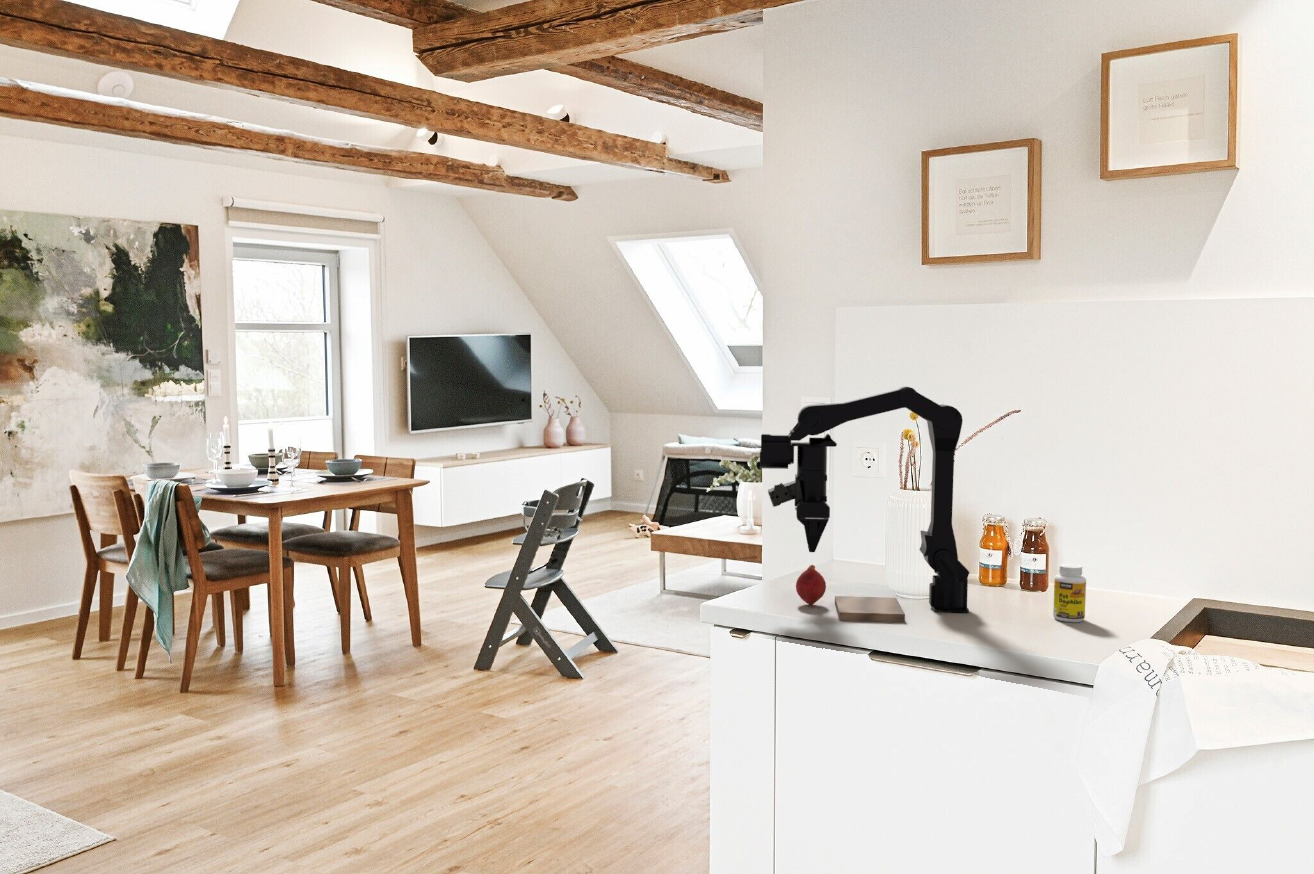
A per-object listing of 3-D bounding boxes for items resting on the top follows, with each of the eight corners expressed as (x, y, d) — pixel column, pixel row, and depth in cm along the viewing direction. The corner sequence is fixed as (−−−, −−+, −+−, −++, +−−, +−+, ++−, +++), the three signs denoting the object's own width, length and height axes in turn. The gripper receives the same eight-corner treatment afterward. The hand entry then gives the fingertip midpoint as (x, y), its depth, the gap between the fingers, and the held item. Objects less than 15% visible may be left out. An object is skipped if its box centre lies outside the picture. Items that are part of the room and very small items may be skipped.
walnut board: (895, 605, 214) (896, 597, 214) (904, 622, 200) (904, 614, 200) (834, 603, 215) (834, 595, 215) (839, 620, 201) (839, 612, 201)
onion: (816, 609, 210) (816, 569, 209) (790, 605, 213) (790, 565, 212) (830, 604, 214) (831, 564, 214) (805, 600, 218) (805, 561, 217)
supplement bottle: (1053, 621, 201) (1055, 567, 200) (1052, 615, 206) (1054, 562, 205) (1086, 624, 199) (1087, 569, 198) (1083, 617, 205) (1085, 563, 204)
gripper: (770, 464, 222) (769, 539, 223) (770, 473, 203) (769, 555, 204) (825, 464, 221) (824, 540, 222) (830, 474, 202) (829, 556, 203)
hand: (810, 547), depth 213 cm, fingers open, 9 cm apart
